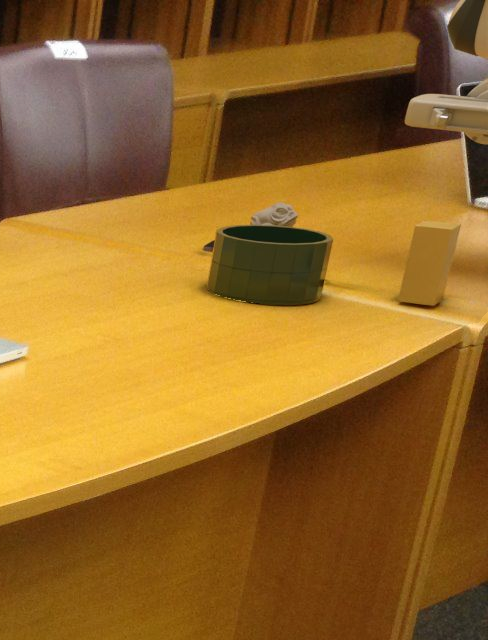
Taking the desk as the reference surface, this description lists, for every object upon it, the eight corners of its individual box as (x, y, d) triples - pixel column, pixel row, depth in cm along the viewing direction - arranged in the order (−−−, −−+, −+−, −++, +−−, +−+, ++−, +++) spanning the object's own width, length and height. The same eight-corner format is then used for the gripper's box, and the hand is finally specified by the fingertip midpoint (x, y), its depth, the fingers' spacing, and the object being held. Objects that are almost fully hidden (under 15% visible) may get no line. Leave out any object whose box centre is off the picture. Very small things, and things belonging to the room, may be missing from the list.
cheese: (442, 299, 207) (461, 224, 203) (433, 306, 204) (452, 229, 199) (406, 295, 210) (424, 220, 205) (397, 301, 206) (415, 225, 202)
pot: (333, 291, 212) (346, 232, 208) (301, 310, 201) (314, 248, 198) (227, 277, 220) (237, 220, 216) (190, 295, 210) (201, 235, 206)
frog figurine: (281, 254, 236) (292, 208, 233) (237, 247, 240) (247, 201, 237) (296, 249, 240) (307, 203, 237) (253, 241, 244) (263, 196, 241)
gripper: (422, 79, 219) (401, 93, 209) (585, 93, 208) (570, 110, 199) (410, 125, 222) (389, 141, 212) (570, 141, 211) (555, 160, 202)
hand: (478, 126), depth 205 cm, fingers open, 8 cm apart
